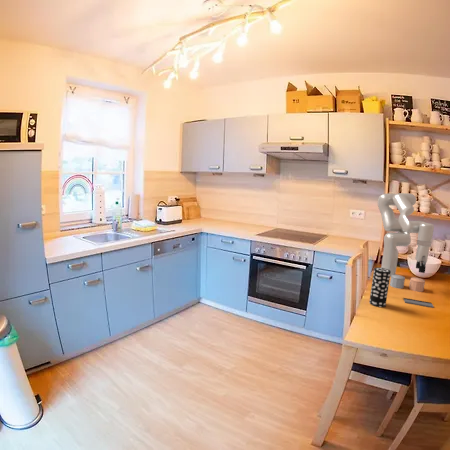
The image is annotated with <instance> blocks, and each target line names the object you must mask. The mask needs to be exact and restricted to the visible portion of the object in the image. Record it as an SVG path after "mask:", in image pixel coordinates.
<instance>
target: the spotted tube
mask: <svg viewBox="0 0 450 450" xmlns="http://www.w3.org/2000/svg"><path fill="white" fill-rule="evenodd" d="M390 273H391V271H390V270H388V269H385V268H381V267H373V273H372V281H371V289H370V295H369V300H368V302H369V304H370V305H372V306H374V307H378V308H385V307H386V305H387V298H388V292H389V286H390V281H391V277H390Z"/></svg>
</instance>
